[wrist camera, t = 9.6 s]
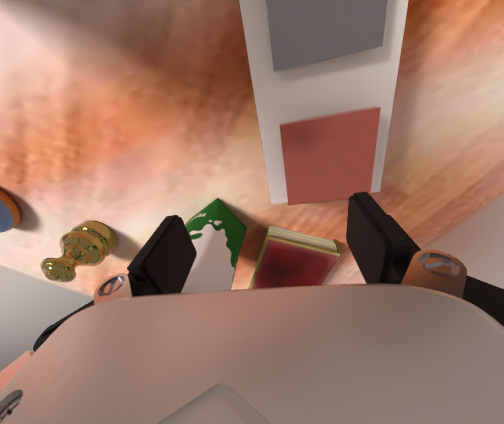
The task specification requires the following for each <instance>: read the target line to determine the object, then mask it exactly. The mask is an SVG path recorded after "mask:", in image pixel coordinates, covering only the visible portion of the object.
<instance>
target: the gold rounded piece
mask: <svg viewBox="0 0 504 424" xmlns="http://www.w3.org/2000/svg"><path fill="white" fill-rule="evenodd" d="M117 244H118V242H117V238H116V236H115V234H114V233H113V232H112V231H111V230H110V229H109V228H108V227H107V226H105V225H103V224H101V223H99V222H96V221H84V222H82V223H81V224H79V225H78V226H77V227H74V228H73V229H72V230H71V232H68V233H66V234H64V235H63V236H62V237H61V239H60V248H61V253H62V256H61V257H60V258H46V259H44V260H43V261H42V262H41V264H40V266H41V269H42V271H43V273H44V274H45V276H46V277H47V278H48V279H50V280H52V281H58V282H71V281H72V280H74V279H75V277H76V273H75V268H76V267H77V266H96V265H99V264H101V263H102V262H103V261H104V259H105V258H106V257H107V256H109V255H110V254H111V252H112V251H113V250H114V249H115V248H116V247H117Z"/></svg>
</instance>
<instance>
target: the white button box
mask: <svg viewBox="0 0 504 424" xmlns="http://www.w3.org/2000/svg"><path fill="white" fill-rule="evenodd" d="M408 1H409V0H388V2H387V11H386V20H385V29H384V38H383V46H381V47H378V48H375V49H370V50H366V51H362V52H357V53H353V54H349V55H344V56H340V57H336V58H331V59H327V60H323V61H318V62H314V63H310V64H306V65H301V66H297V67H293V68H288V69H284V70H280V71H275V72H274V70H273V61H272V51H271V42H270V33H269V24H268V15H267V6H266V0H239V3H240V9H241V15H242V22H243V28H244V34H245V41H246V47H247V53H248V60H249V66H250V72H251V79H252V85H253V91H254V98H255V104H256V110H257V116H258V123H259V129H260V135H261V142H262V148H263V154H264V161H265V167H266V173H267V180H268V186H269V192H270V198H271V204H278V203H287V202H288V198H287V188H286V179H285V170H284V161H283V152H282V143H281V134H280V124H282V123H287V122H292V121H298V120H303V119H309V118H314V117H320V116H325V115H331V114H336V113H341V112H347V111H352V110H358V109H363V108H369V107H374V106H377V107H381V110H380V118H379V126H378V134H377V142H376V151H375V159H374V167H373V175H372V183H371V191H370V193H376V192H380V189H381V182H382V175H383V169H384V162H385V155H386V148H387V142H388V135H389V128H390V122H391V115H392V108H393V102H394V95H395V88H396V81H397V75H398V68H399V61H400V55H401V48H402V41H403V35H404V28H405V21H406V14H407V8H408Z"/></svg>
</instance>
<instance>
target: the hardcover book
mask: <svg viewBox="0 0 504 424" xmlns="http://www.w3.org/2000/svg"><path fill="white" fill-rule="evenodd" d="M340 255H341V248H340V245H339V243H338V241H337V240H335V239H334V241H331V240H327V239H323V238H319V237H315V236H310V235H306V234H302V233H298V232H294V231H290V230H286V229H282V228H278V227H274V226H269V228H268V231H267V234H266V237H265V240H264V243H263V246H262V249H261V252H260V255H259V258H258V261H257V264H256V267H255V270H254V273H253V276H252V279H251V282H250V285H249V288H248V289H258V288H277V287H297V286H317V285H321V284H322V283H323V281H324V280H325V278H326V276H327V275H328V273H329V272H330V270H331V269H332V267H333V266H334V264H335V262H336V261H337V259H338V258H339V256H340Z"/></svg>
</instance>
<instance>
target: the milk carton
mask: <svg viewBox="0 0 504 424" xmlns="http://www.w3.org/2000/svg"><path fill="white" fill-rule="evenodd" d="M185 227H186V229H187V231H188V233H189V236H190V238H191V240H192V242H193V244H194V247H195V249H196V252H197V256H196V258H195V261H194V263H193V266H192V268H191V270H190V273H189V275H188V277H187V280H186V282H185V284H184V287H183V289H182V292H181V293H189V292H205V291H222V290H231V288H232V283H233V279H234V274H235V270H236V265H237V261H238V256H239V252H240V249H241V246H242V242H243V239H244V236H245V232H246V229H247V227H246V226H245V225H244V224H243V223H242V222H241V221H240V220H239V219H238V218H237V217H236V216H235V215H234V214H233V213H232V212H231V211H230V210H229V209H228V208H227V207H226V206H225V205H224V204H223V203H222V202H221V201H220V200H219V199H218V198H217V199H216V200H214V201H213V202H212V203H210V204H209V205H208V206H207V207H205V208H204V209H203V210H201V211H200V212H199V213H198V214H196V215H195V216H194V217H192V218H191V219H190V220H189V221H188V222H187V223H186V224H185Z"/></svg>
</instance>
